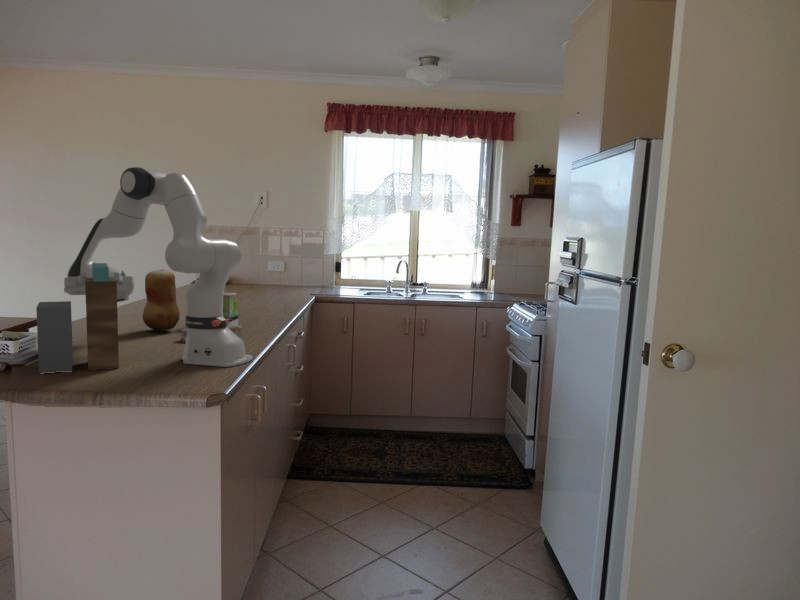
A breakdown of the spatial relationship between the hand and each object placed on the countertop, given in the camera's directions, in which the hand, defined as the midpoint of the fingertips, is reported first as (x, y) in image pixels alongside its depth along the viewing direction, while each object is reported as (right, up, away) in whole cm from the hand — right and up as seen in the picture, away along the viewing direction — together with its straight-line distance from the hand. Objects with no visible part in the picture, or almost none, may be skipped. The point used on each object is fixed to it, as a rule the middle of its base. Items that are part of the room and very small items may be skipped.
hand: (100, 274), depth 180 cm
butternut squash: (-1, -21, +48) cm, 53 cm away
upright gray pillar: (-5, -28, -14) cm, 32 cm away
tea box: (+17, -20, +62) cm, 67 cm away
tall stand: (+5, -28, -8) cm, 30 cm away
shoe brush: (+23, -23, +38) cm, 50 cm away
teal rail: (+4, -2, -8) cm, 9 cm away
